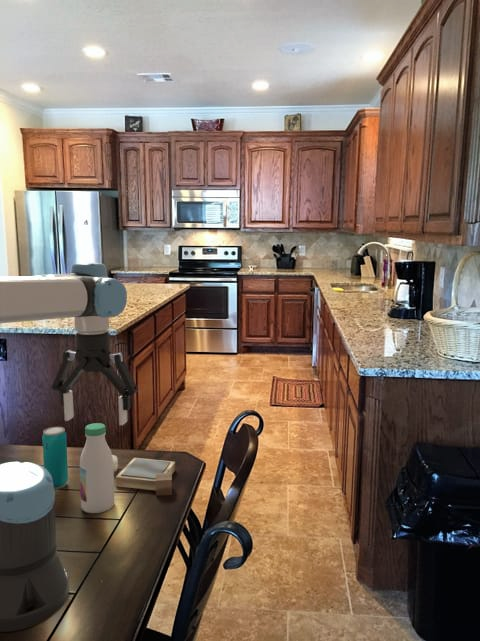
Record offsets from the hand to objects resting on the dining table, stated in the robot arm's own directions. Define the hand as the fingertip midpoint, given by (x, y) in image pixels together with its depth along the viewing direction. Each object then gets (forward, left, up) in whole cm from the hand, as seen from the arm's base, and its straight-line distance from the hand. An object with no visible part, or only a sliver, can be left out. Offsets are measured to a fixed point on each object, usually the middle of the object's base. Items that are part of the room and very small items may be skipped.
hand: (96, 421), depth 116 cm
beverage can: (+7, +15, -21) cm, 27 cm away
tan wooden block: (+10, -13, -21) cm, 27 cm away
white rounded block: (+18, +7, -21) cm, 28 cm away
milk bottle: (0, 0, -21) cm, 21 cm away
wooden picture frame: (+16, -6, -21) cm, 27 cm away
